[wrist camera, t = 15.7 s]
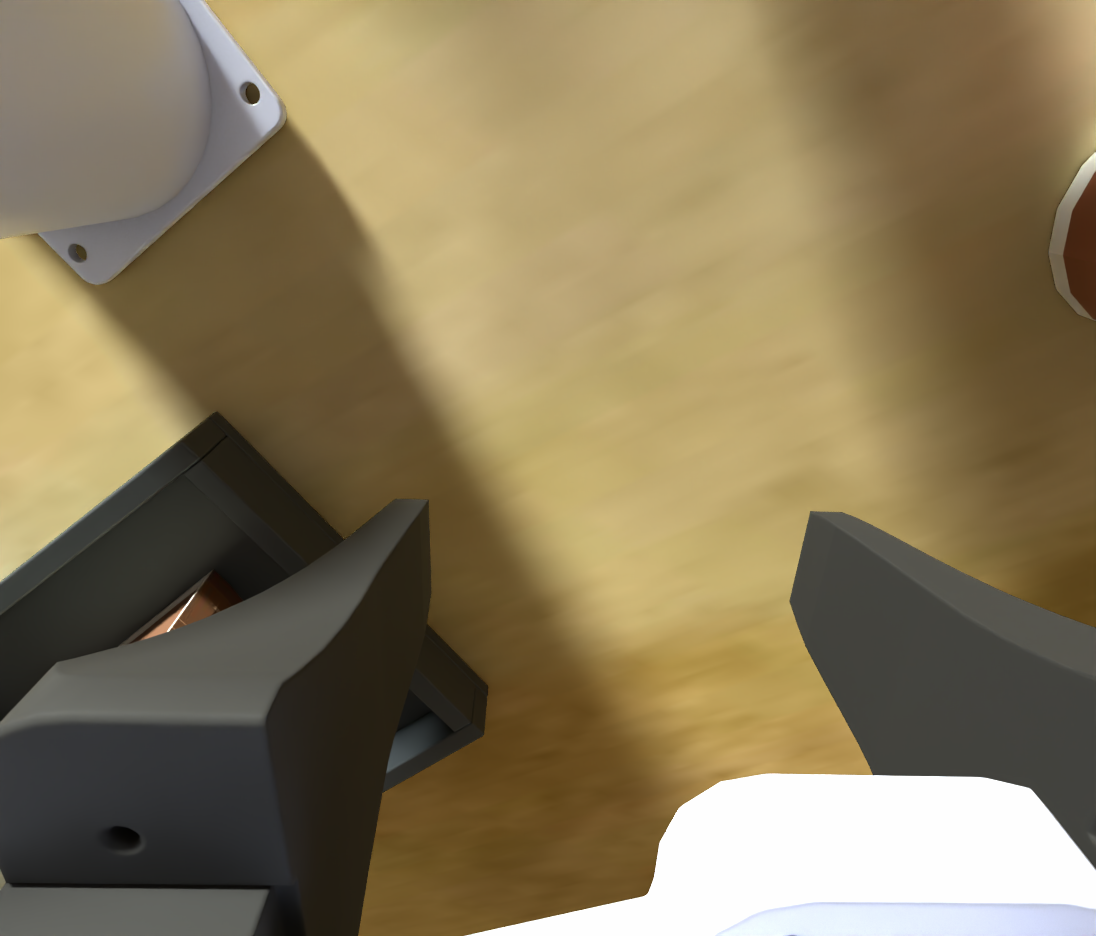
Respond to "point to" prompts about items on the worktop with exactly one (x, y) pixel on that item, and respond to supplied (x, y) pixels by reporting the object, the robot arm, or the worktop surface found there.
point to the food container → (186, 613)
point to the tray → (185, 558)
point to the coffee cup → (1077, 243)
